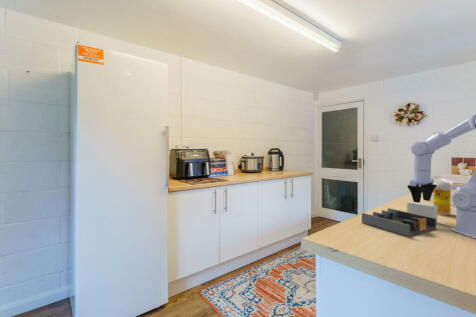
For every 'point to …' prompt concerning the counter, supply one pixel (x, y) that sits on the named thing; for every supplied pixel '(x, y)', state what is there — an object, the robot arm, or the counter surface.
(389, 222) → the rack
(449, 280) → the counter surface
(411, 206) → the white rectangular block
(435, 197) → the beer can
